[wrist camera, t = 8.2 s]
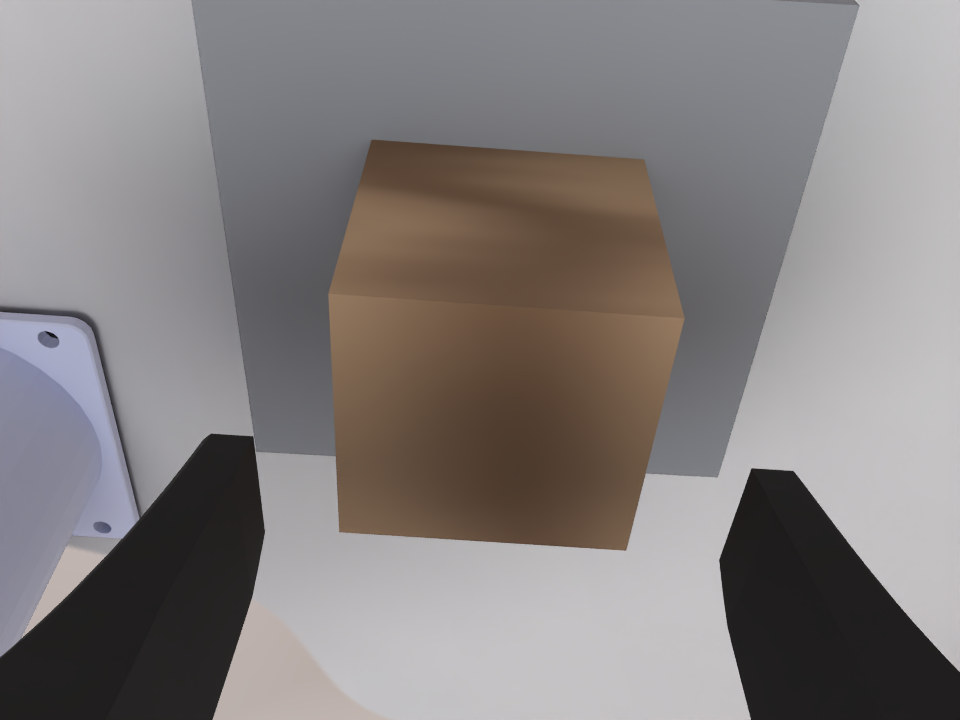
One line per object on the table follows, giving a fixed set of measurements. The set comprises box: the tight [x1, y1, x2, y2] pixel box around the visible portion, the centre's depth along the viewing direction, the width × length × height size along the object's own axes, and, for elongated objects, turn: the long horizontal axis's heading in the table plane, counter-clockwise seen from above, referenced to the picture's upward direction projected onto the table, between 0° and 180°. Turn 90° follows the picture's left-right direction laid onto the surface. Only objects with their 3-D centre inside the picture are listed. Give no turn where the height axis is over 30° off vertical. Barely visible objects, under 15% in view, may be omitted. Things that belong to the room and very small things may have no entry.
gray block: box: [192, 0, 859, 477], centre depth 20 cm, size 11×11×4 cm
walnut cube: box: [328, 140, 685, 550], centre depth 16 cm, size 5×5×5 cm
